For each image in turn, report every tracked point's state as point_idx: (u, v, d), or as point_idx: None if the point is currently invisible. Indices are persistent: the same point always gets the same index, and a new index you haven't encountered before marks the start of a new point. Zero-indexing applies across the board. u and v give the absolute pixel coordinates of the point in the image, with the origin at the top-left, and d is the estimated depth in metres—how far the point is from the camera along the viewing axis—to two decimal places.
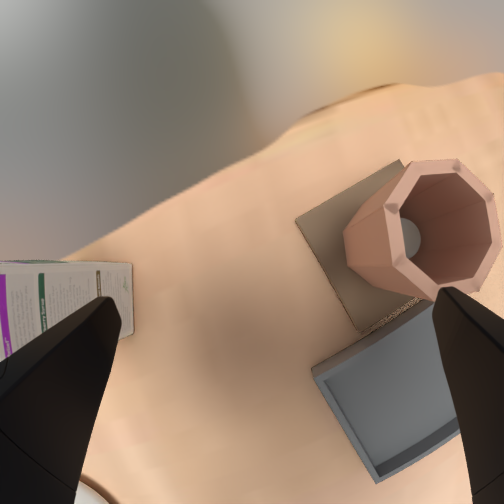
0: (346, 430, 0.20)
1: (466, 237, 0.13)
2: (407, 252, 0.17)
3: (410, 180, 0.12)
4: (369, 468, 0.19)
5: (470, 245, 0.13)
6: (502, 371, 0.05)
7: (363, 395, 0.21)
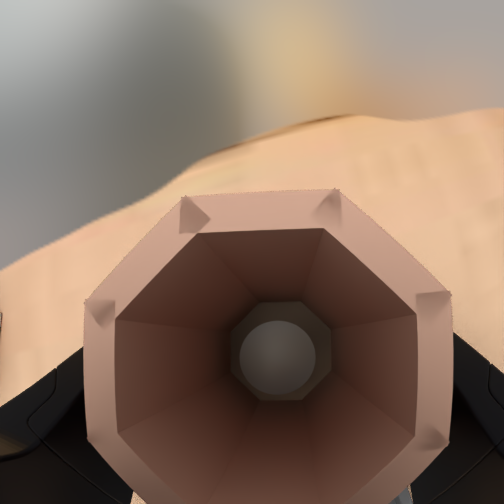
0: None
1: (377, 388, 0.06)
2: (282, 383, 0.10)
3: (163, 246, 0.05)
4: None
5: (380, 410, 0.05)
6: None
7: None
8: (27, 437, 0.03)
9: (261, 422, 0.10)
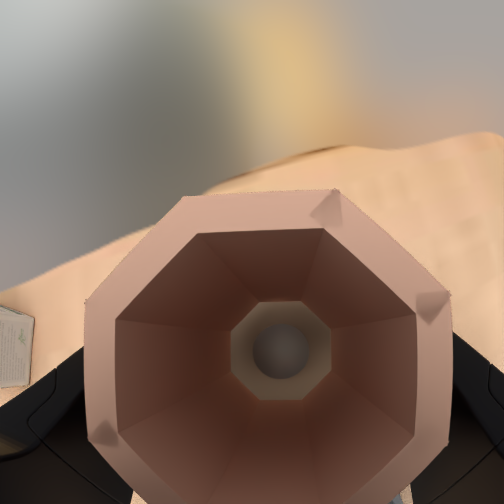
0: None
1: (376, 388, 0.06)
2: (284, 370, 0.13)
3: (163, 246, 0.05)
4: None
5: (380, 409, 0.05)
6: None
7: None
8: (27, 437, 0.03)
9: (261, 422, 0.10)
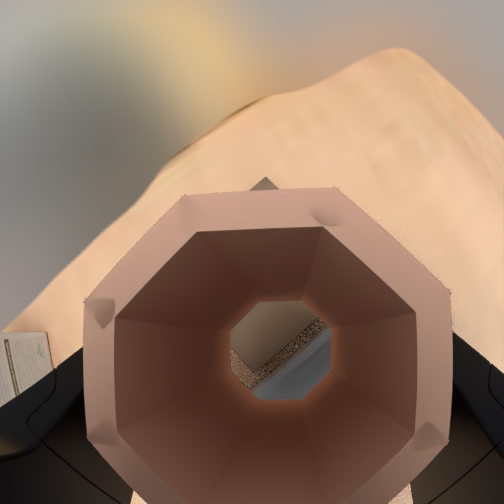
0: None
1: (376, 387, 0.06)
2: None
3: (163, 245, 0.05)
4: None
5: (380, 409, 0.05)
6: None
7: None
8: (27, 437, 0.03)
9: (261, 421, 0.10)
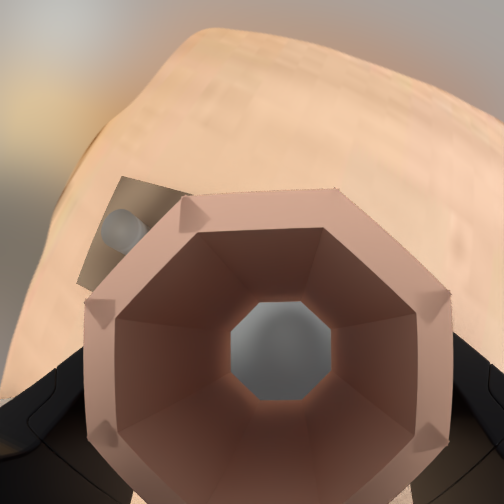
0: None
1: (376, 388, 0.06)
2: (127, 234, 0.18)
3: (163, 245, 0.05)
4: None
5: (380, 409, 0.05)
6: None
7: None
8: (27, 437, 0.03)
9: (261, 422, 0.10)
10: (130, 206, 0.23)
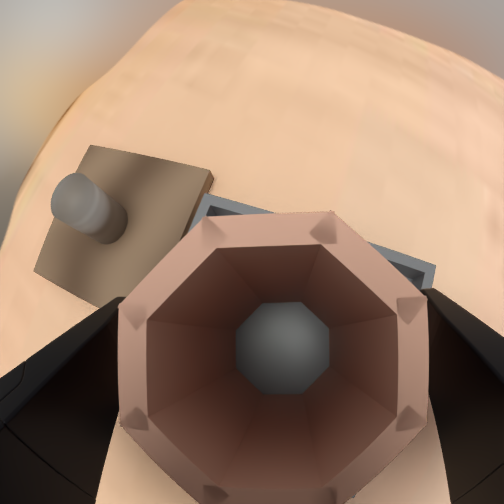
0: None
1: (368, 379, 0.07)
2: (79, 203, 0.13)
3: (188, 258, 0.06)
4: None
5: (371, 397, 0.07)
6: (479, 377, 0.05)
7: None
8: None
9: (265, 413, 0.11)
10: (96, 178, 0.18)
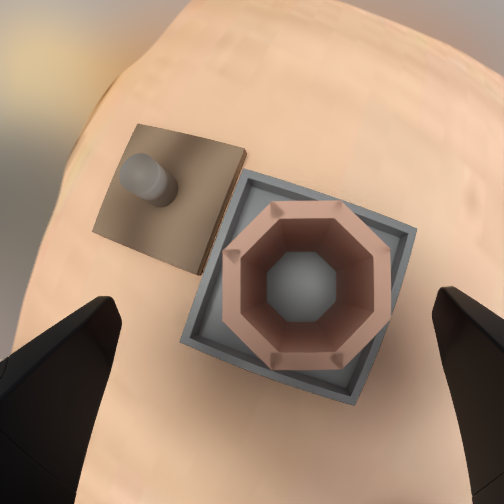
0: (256, 370, 0.18)
1: (360, 297, 0.12)
2: (146, 177, 0.18)
3: (263, 224, 0.11)
4: (326, 394, 0.18)
5: (362, 308, 0.12)
6: (502, 371, 0.05)
7: None
8: None
9: (292, 329, 0.16)
10: (147, 152, 0.22)
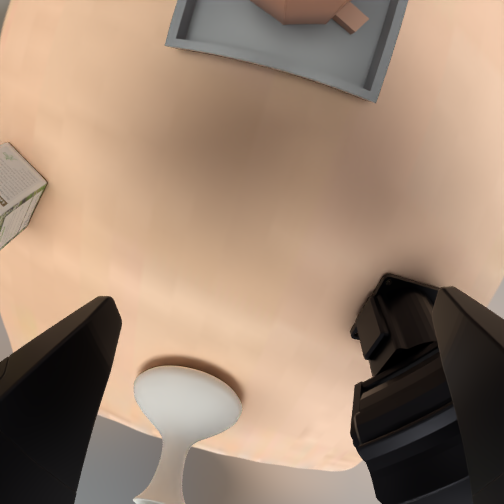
0: (257, 60, 0.14)
1: None
2: None
3: None
4: (342, 86, 0.15)
5: None
6: (502, 371, 0.05)
7: (250, 22, 0.14)
8: None
9: None
10: None
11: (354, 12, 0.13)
